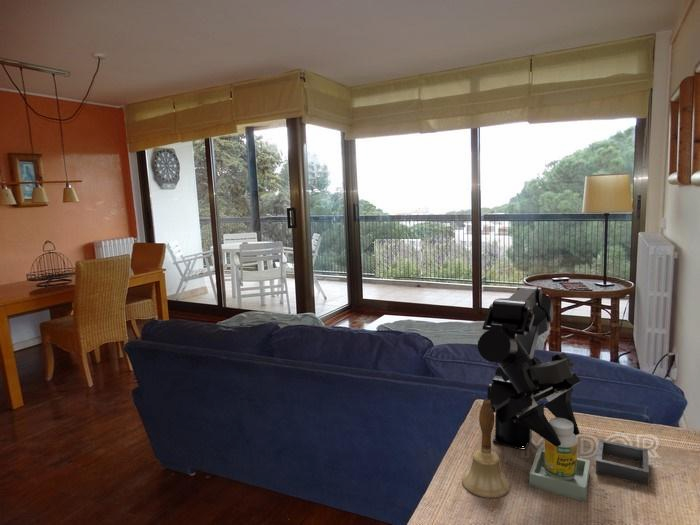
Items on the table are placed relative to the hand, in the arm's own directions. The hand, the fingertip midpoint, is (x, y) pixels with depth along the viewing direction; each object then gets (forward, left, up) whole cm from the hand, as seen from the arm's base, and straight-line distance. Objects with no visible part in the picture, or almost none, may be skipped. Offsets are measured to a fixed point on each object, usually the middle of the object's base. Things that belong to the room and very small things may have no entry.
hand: (568, 440), depth 82 cm
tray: (-1, 0, -8) cm, 8 cm away
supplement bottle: (-1, +1, -7) cm, 7 cm away
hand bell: (-13, -7, -9) cm, 17 cm away
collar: (+8, +9, -8) cm, 15 cm away
